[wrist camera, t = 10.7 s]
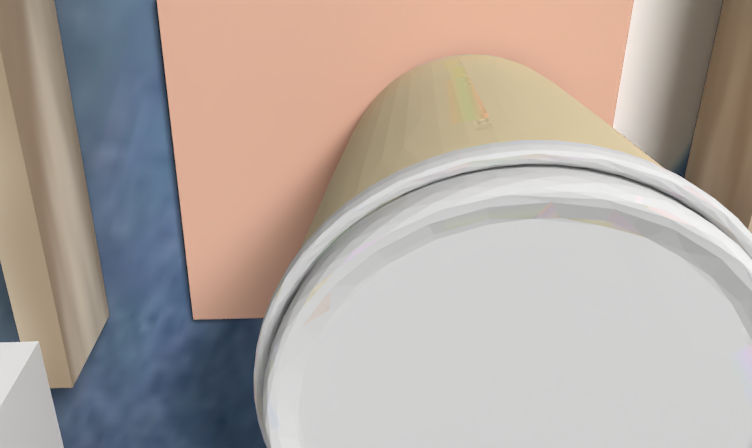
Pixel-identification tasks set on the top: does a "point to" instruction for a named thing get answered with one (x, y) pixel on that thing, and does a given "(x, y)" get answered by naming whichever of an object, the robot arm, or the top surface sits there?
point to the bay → (72, 206)
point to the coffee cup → (507, 284)
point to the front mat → (328, 107)
